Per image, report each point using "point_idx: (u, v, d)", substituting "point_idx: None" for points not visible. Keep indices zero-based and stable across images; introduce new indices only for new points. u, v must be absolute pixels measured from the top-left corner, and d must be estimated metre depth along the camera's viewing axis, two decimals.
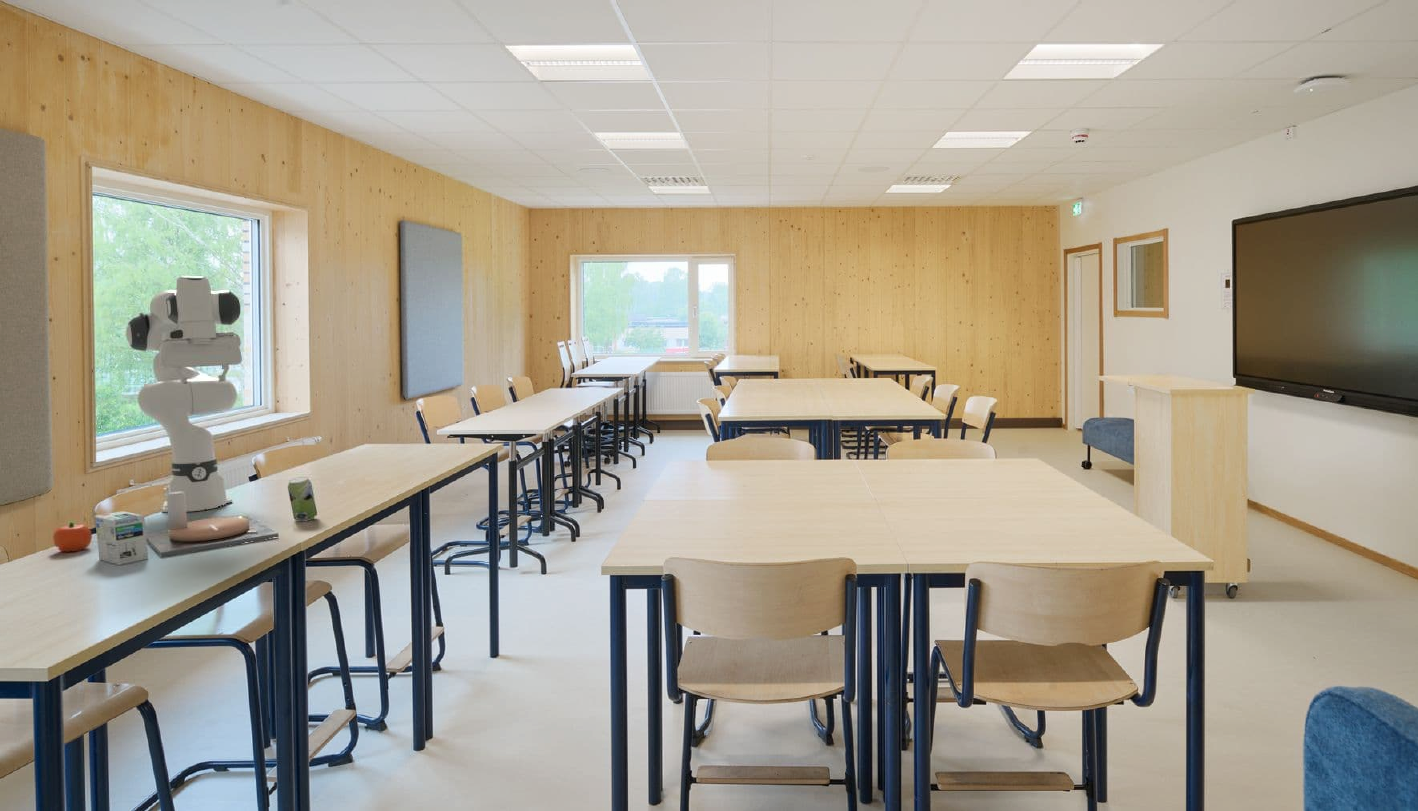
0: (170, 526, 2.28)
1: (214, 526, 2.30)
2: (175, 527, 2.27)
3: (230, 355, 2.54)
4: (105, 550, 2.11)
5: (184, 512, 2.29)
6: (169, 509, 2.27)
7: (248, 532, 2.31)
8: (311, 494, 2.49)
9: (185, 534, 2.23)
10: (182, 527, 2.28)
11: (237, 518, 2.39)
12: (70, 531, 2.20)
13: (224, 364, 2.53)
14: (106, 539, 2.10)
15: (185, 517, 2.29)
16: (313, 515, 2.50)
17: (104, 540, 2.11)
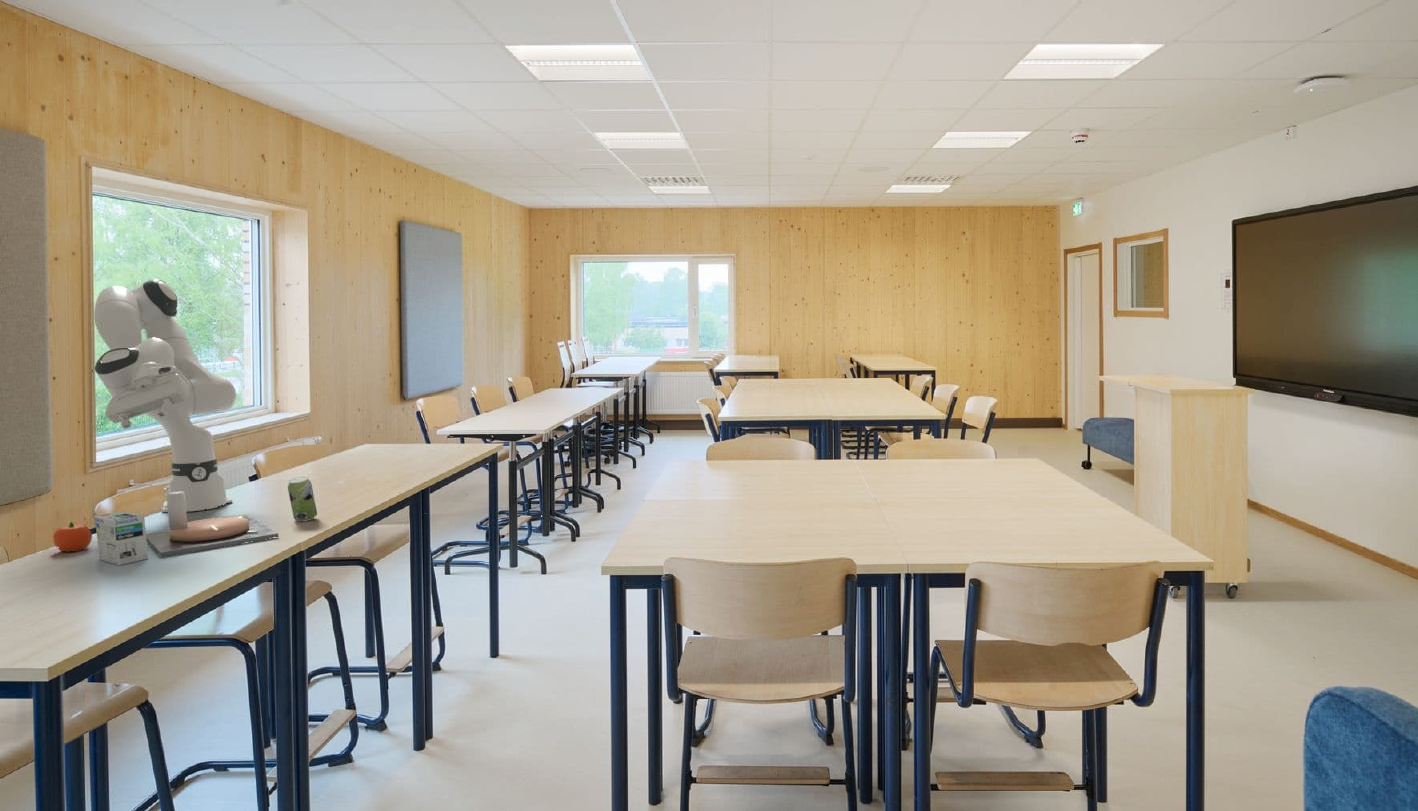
0: (170, 526, 2.28)
1: (214, 526, 2.30)
2: (175, 527, 2.27)
3: None
4: (105, 550, 2.11)
5: (184, 512, 2.29)
6: (169, 509, 2.27)
7: (248, 532, 2.31)
8: (311, 494, 2.49)
9: (185, 534, 2.23)
10: (182, 527, 2.28)
11: (237, 518, 2.39)
12: (70, 531, 2.20)
13: (129, 418, 2.34)
14: (106, 539, 2.10)
15: (185, 517, 2.29)
16: (313, 515, 2.50)
17: (104, 540, 2.11)
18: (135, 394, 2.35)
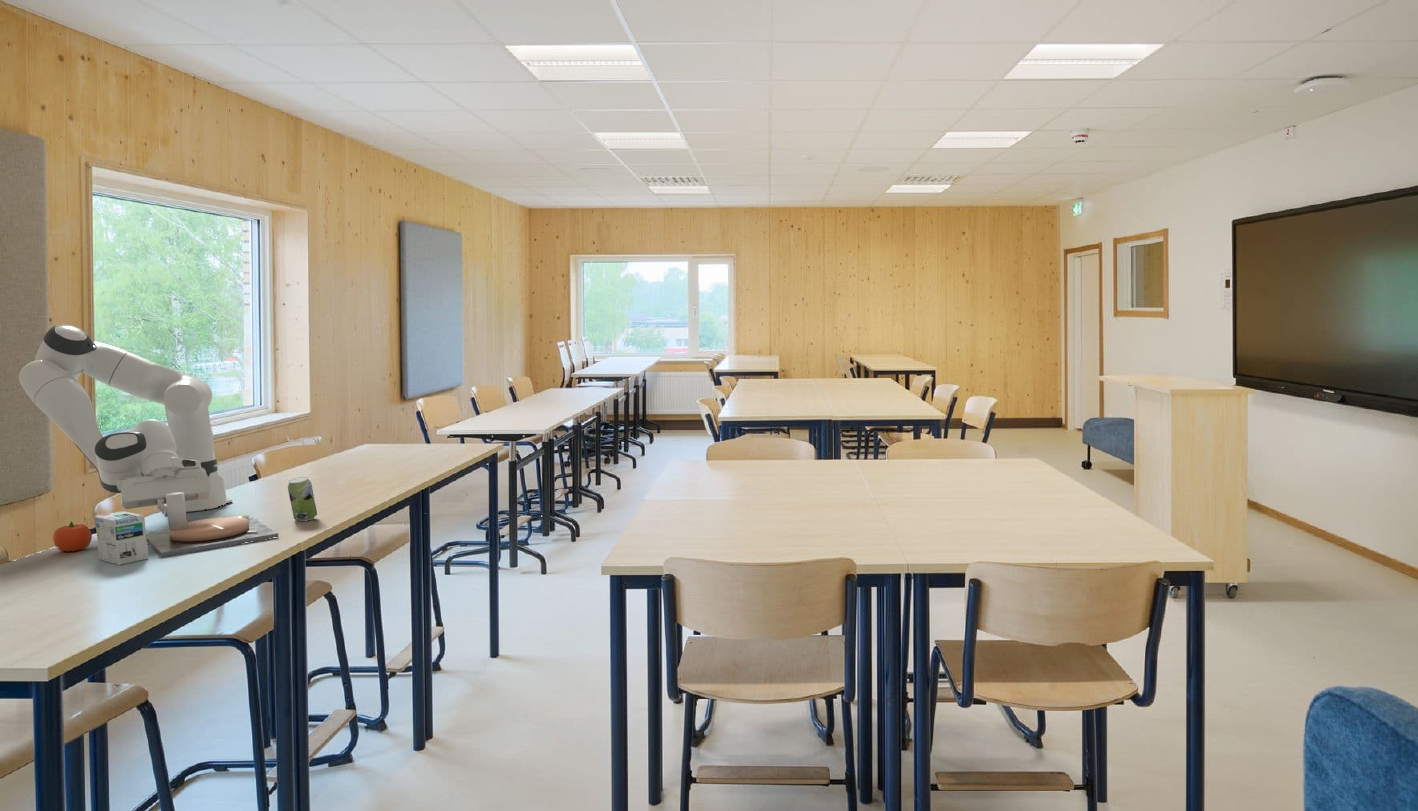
0: (170, 527, 2.26)
1: (216, 526, 2.30)
2: (176, 528, 2.26)
3: None
4: (105, 549, 2.11)
5: (184, 513, 2.28)
6: (170, 510, 2.26)
7: (248, 532, 2.31)
8: (311, 494, 2.49)
9: (191, 534, 2.23)
10: (183, 528, 2.28)
11: (233, 518, 2.39)
12: (70, 531, 2.20)
13: (143, 506, 2.29)
14: (106, 539, 2.10)
15: (185, 518, 2.28)
16: (313, 515, 2.50)
17: (104, 540, 2.11)
18: (153, 482, 2.31)
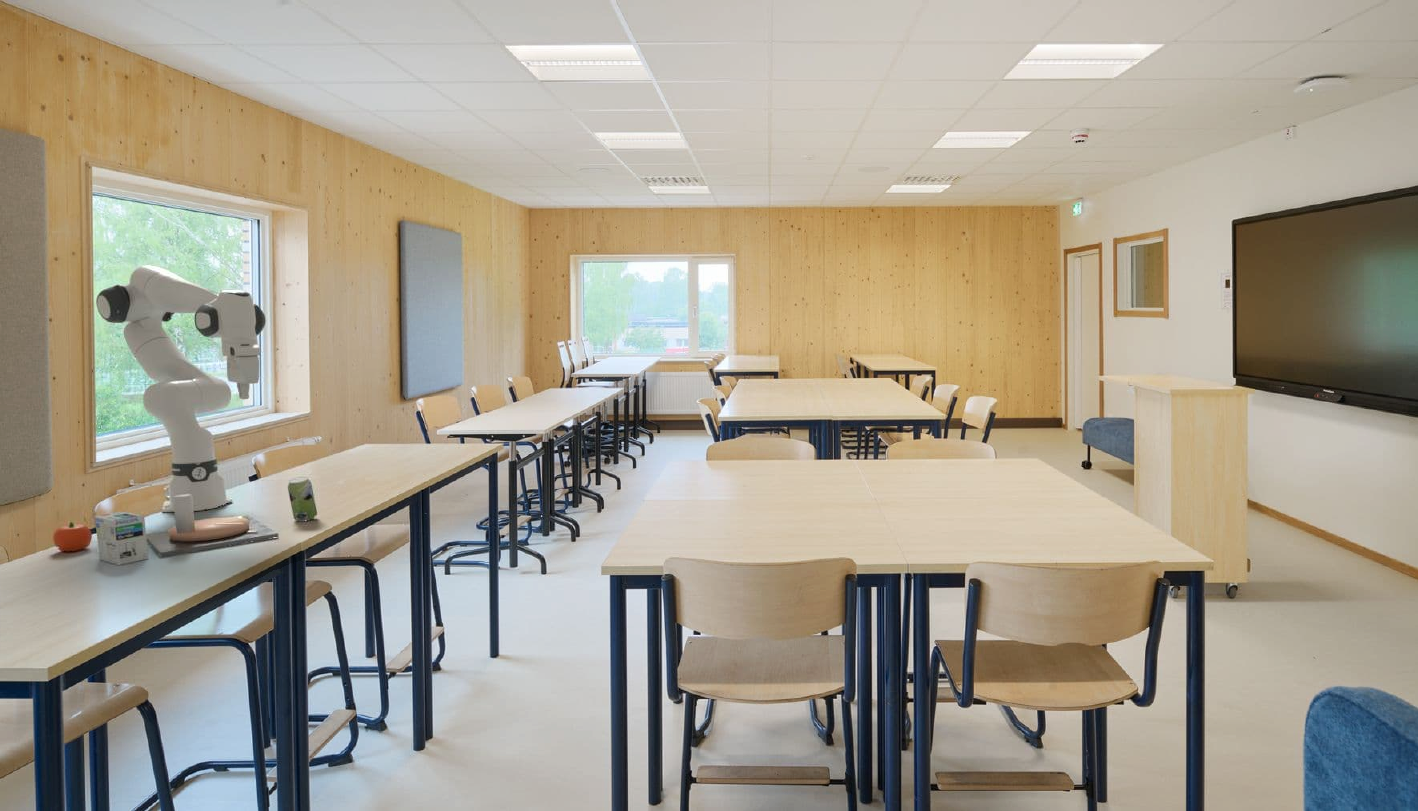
0: (183, 529, 2.23)
1: (222, 524, 2.32)
2: (191, 529, 2.24)
3: None
4: (105, 550, 2.11)
5: None
6: (184, 512, 2.23)
7: (248, 532, 2.31)
8: (311, 494, 2.49)
9: (220, 531, 2.25)
10: (194, 529, 2.26)
11: (212, 519, 2.39)
12: (70, 531, 2.20)
13: None
14: (106, 539, 2.10)
15: None
16: (313, 515, 2.50)
17: (104, 540, 2.11)
18: (233, 364, 2.50)
